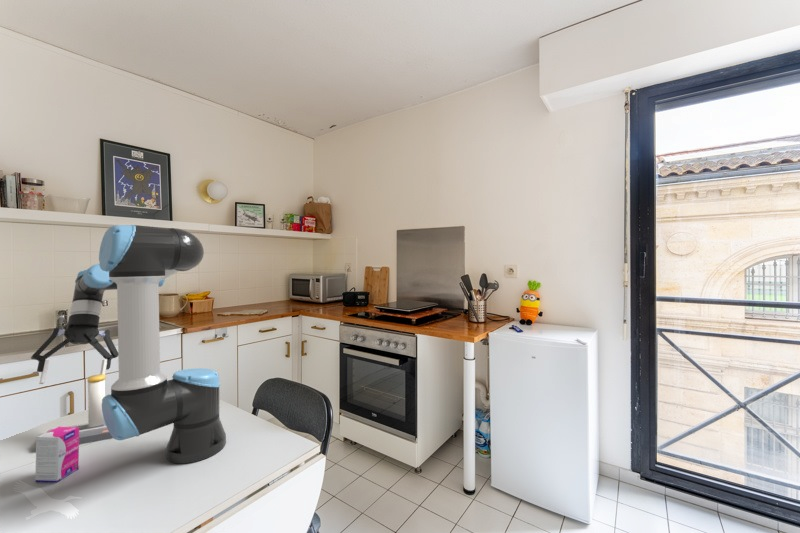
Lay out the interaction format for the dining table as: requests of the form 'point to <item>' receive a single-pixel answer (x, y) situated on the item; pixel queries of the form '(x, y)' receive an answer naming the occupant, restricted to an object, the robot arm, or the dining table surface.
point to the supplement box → (57, 454)
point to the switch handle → (96, 400)
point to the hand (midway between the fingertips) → (73, 381)
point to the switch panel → (91, 433)
